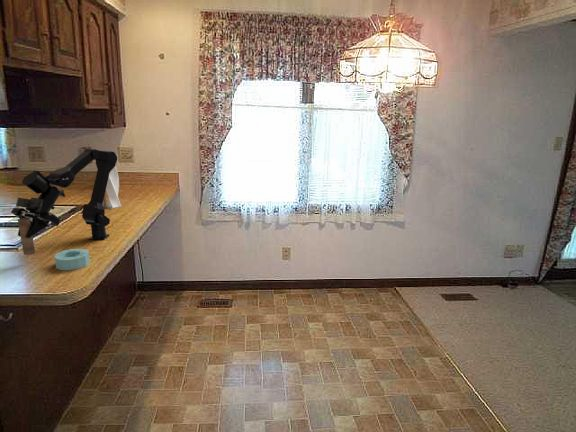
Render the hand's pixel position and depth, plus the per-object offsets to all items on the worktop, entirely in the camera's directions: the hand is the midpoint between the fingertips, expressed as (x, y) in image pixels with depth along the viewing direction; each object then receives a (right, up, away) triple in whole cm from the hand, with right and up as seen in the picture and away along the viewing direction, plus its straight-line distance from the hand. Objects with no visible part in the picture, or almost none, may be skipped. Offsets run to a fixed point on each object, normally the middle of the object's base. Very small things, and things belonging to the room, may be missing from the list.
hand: (22, 236), depth 141 cm
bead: (+16, -10, +4) cm, 19 cm away
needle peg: (0, -6, +3) cm, 7 cm away
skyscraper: (-5, +13, +84) cm, 85 cm away
